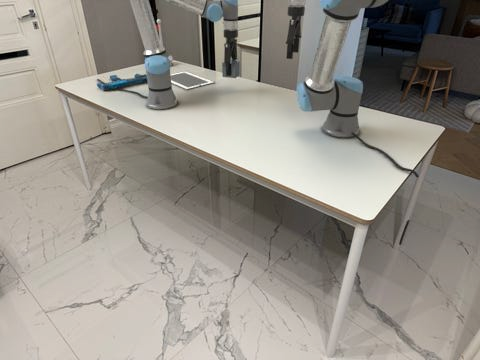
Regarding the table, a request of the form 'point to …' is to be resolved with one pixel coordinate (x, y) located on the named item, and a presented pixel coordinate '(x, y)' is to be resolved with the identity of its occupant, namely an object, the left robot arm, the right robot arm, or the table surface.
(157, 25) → the flag stand
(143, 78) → the submachine gun
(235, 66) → the grey cube
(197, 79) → the tablet
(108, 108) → the table surface
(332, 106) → the right robot arm
